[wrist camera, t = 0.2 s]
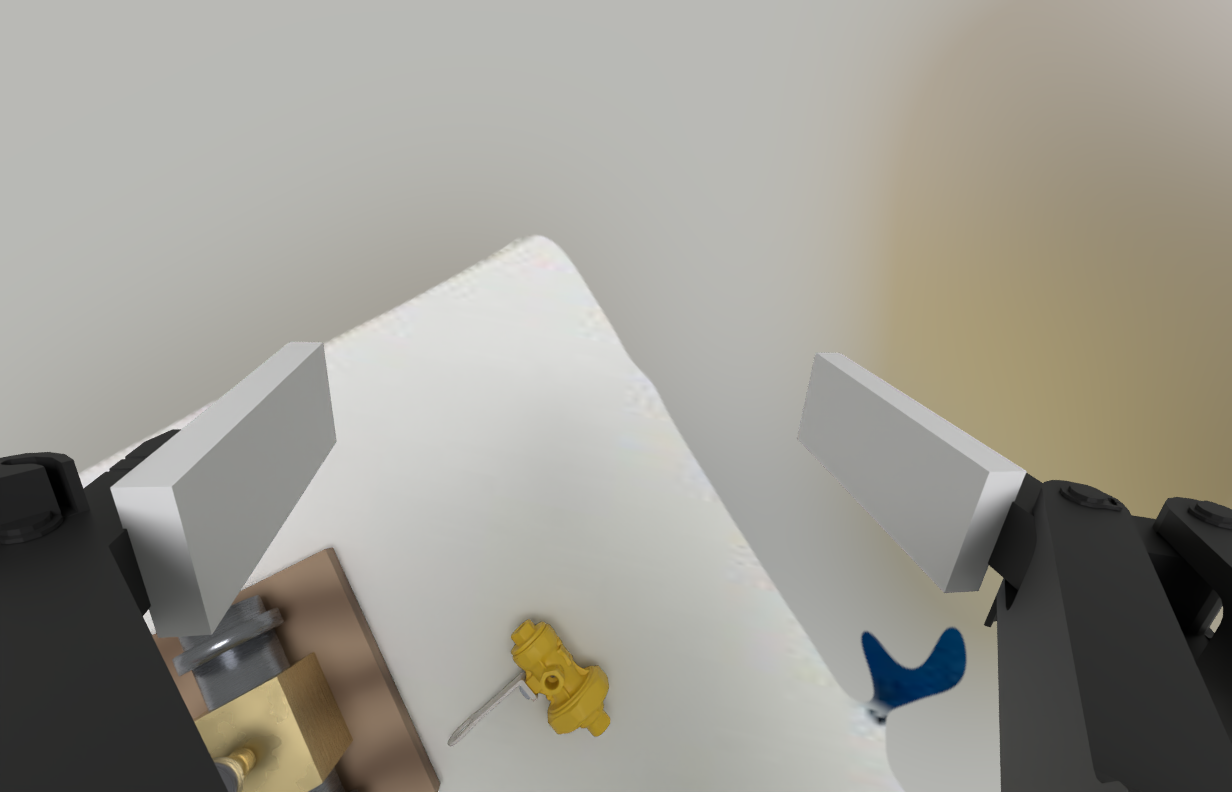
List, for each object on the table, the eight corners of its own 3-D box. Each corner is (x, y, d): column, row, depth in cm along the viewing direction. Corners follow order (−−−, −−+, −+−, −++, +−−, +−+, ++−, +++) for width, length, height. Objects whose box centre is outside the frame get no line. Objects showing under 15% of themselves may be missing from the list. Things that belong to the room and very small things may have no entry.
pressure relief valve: (547, 597, 48) (624, 690, 47) (433, 696, 46) (512, 793, 46) (542, 615, 42) (630, 721, 42) (413, 729, 41) (502, 839, 40)
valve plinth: (440, 783, 44) (436, 795, 42) (252, 902, 40) (239, 922, 38) (333, 547, 46) (325, 549, 44) (145, 641, 42) (128, 647, 40)
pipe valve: (386, 807, 42) (348, 896, 32) (290, 868, 40) (218, 982, 30) (287, 583, 43) (222, 601, 34) (191, 631, 42) (92, 666, 32)
